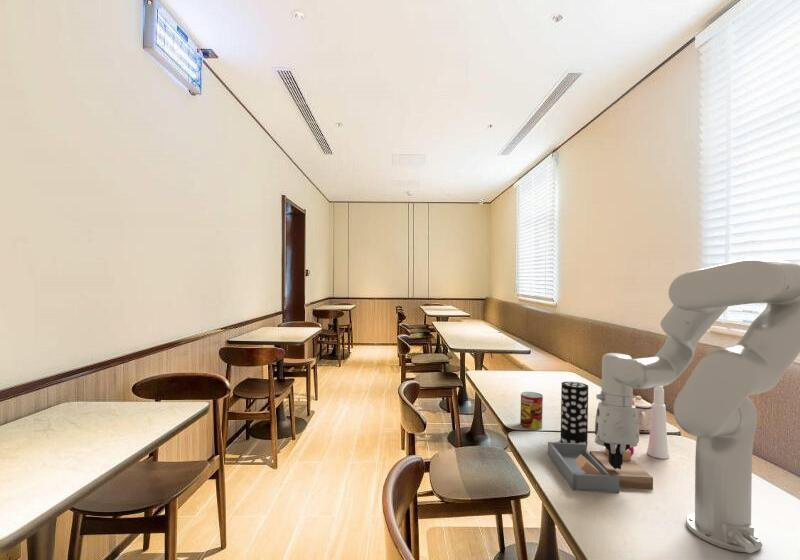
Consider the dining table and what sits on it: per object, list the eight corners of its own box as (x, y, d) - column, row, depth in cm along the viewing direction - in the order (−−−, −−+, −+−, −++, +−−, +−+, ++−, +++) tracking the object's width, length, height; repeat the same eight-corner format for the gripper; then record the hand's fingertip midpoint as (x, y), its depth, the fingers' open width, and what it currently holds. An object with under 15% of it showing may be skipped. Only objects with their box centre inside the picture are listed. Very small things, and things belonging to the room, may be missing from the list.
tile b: (631, 460, 117) (631, 451, 117) (613, 459, 117) (613, 450, 117) (622, 453, 122) (622, 444, 122) (605, 452, 122) (605, 443, 122)
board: (653, 488, 106) (653, 477, 106) (613, 486, 107) (614, 475, 107) (623, 462, 122) (623, 452, 122) (589, 460, 123) (589, 450, 123)
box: (619, 492, 104) (619, 477, 104) (573, 490, 105) (573, 474, 105) (585, 456, 126) (585, 443, 126) (547, 454, 127) (548, 441, 127)
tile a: (587, 461, 109) (580, 468, 109) (601, 474, 108) (595, 481, 108) (580, 454, 114) (574, 460, 114) (594, 466, 113) (588, 472, 113)
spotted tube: (559, 445, 134) (560, 385, 134) (561, 437, 141) (562, 380, 142) (586, 451, 130) (587, 388, 130) (588, 442, 138) (589, 383, 138)
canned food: (516, 423, 155) (516, 392, 155) (533, 421, 157) (534, 391, 157) (528, 430, 147) (529, 397, 148) (546, 428, 150) (547, 396, 150)
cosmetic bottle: (654, 449, 132) (655, 382, 133) (673, 457, 127) (674, 387, 127) (642, 452, 130) (643, 384, 130) (661, 460, 124) (662, 388, 125)
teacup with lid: (621, 421, 160) (622, 392, 160) (647, 424, 157) (648, 394, 157) (630, 432, 148) (630, 400, 148) (658, 435, 146) (658, 403, 146)
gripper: (593, 402, 107) (592, 471, 107) (652, 404, 106) (651, 475, 106) (583, 394, 114) (581, 459, 114) (638, 396, 113) (636, 462, 113)
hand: (615, 466), depth 110 cm, fingers closed
